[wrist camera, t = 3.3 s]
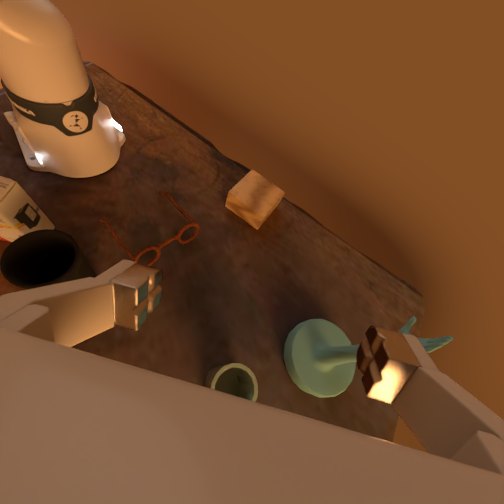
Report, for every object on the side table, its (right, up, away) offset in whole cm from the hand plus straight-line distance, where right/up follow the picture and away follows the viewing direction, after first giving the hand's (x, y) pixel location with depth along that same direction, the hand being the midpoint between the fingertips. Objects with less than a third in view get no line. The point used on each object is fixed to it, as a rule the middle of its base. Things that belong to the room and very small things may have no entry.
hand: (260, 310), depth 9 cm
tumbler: (-5, -19, +29) cm, 35 cm away
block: (0, +13, +46) cm, 48 cm away
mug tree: (+11, -17, +35) cm, 40 cm away
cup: (-28, -4, +30) cm, 41 cm away
